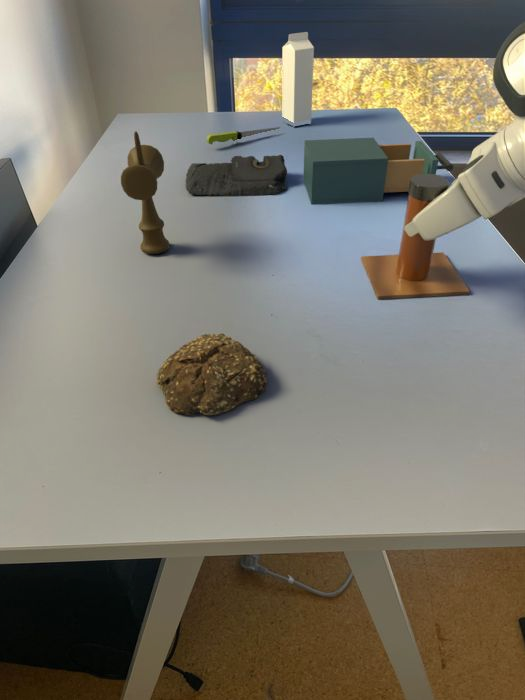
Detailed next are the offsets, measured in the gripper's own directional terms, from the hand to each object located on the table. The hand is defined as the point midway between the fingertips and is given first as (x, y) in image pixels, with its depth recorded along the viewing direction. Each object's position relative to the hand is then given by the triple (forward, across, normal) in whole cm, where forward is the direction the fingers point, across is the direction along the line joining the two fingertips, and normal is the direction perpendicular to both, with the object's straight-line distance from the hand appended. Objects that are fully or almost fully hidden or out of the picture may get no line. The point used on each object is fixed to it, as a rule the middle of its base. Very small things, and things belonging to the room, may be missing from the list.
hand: (417, 221), depth 77 cm
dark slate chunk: (+40, -15, -26) cm, 50 cm away
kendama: (+35, +17, -22) cm, 44 cm away
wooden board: (+6, 0, +7) cm, 9 cm away
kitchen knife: (+50, -38, -37) cm, 73 cm away
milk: (+48, -58, -35) cm, 84 cm away
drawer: (+17, -32, -5) cm, 37 cm away
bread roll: (+14, +37, 0) cm, 40 cm away
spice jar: (+6, 0, +6) cm, 9 cm away
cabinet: (+24, -24, -11) cm, 36 cm away
